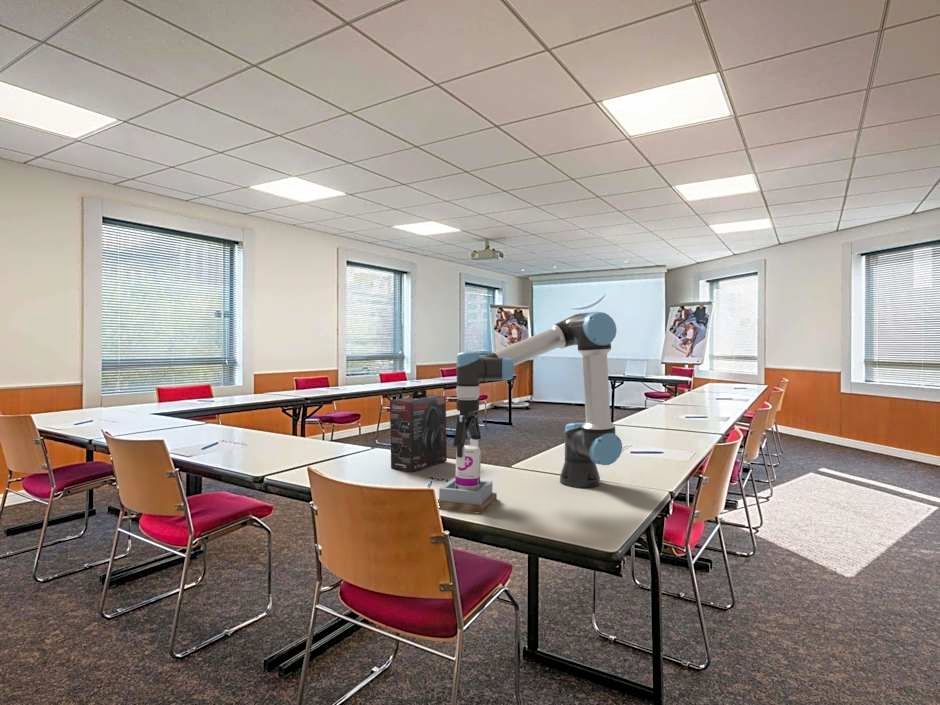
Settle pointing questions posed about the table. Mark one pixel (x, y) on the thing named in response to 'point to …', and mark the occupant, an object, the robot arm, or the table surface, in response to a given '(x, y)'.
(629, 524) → the table surface
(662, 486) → the table surface
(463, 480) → the supplement can
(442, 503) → the walnut slab
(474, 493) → the grey rimmed block
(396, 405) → the headset box
